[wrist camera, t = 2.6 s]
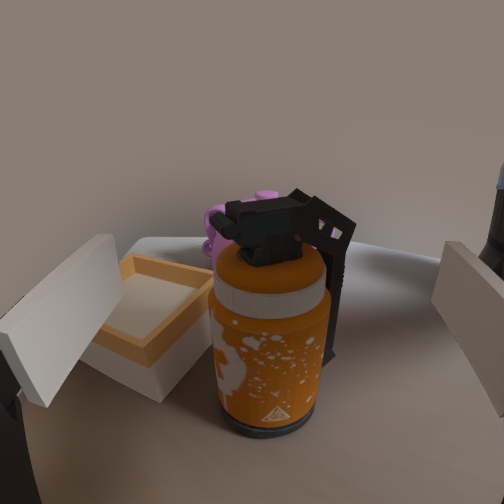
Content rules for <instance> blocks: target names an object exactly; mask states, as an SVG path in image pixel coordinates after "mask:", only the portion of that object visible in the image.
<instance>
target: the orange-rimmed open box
mask: <svg viewBox="0 0 504 504" xmlns="http://www.w3.org/2000/svg"><path fill="white" fill-rule="evenodd" d="M118 264H119V269H120V274H121V279H122V283H123V288H124V293H125V294H124V296H123V297H122V298H121V300H120V301H119V303H118V304H117V305H116V307H115V308H114V309H113V311H112V312H111V314H110V315H109V316H108V318H107V319H106V321H105V322H104V323H103V325H102V326H101V328H100V329H99V330H98V332H97V333H96V335H95V336H94V338H93V339H92V340H91V342H90V343H89V345H88V346H87V348H86V349H85V351H84V352H83V354H82V355H81V356H80V358H79V359H80V360H81V361H83V362H84V363H86V364H88V365H89V366H91V367H93V368H94V369H96V370H98V371H100V372H101V373H103V374H105V375H107V376H108V377H110V378H112V379H114V380H116V381H117V382H119V383H121V384H123V385H125V386H127V387H129V388H130V389H132V390H134V391H136V392H138V393H140V394H142V395H144V396H146V397H148V398H150V399H152V400H154V401H156V402H158V403H161V402H162V401H163V400H164V398H165V397H166V396H167V395H168V394H169V393H170V392H171V390H172V389H173V388H174V387H175V386H176V385H177V384H178V382H179V381H180V380H181V379H182V378H183V377H184V375H185V374H186V373H187V372H188V371H189V370H190V369H191V367H192V366H193V365H194V364H195V363H196V362H197V360H198V359H199V358H200V357H201V356H202V355H203V353H204V352H205V351H206V350H207V349H208V348H209V346H210V345H211V344H212V336H211V328H210V319H209V309H208V294H209V292H210V290H211V289H212V287H213V286H214V278H213V271H212V270H207V269H202V268H197V267H193V266H188V265H184V264H179V263H174V262H170V261H165V260H161V259H156V258H152V257H147V256H143V255H138V254H134V253H132V254H130V255H129V256H127V257H125V258H124V259H122V260H120V261H119V262H118Z"/></svg>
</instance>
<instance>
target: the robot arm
mask: <svg viewBox="0 0 504 504" xmlns="http://www.w3.org/2000/svg"><path fill="white" fill-rule="evenodd" d="M496 189H497V194H496V200H495V206H494V211H493V216H492V221H491V225H490V230H489V235H488V239H487V243H486V245H485V247H484V249H483V250H482V252H481V253H480V255H479V256H478V257H477V256H476V255H475V254H474V253H472V252H471V251H470V250H469V249H468V248H467V247H465V245H463V244H462V243H461V242H454V241H445V245H444V250H443V254H442V259H441V263H440V267H439V271H438V275H437V279H436V283H435V287H434V290H433V294H432V298H431V302H432V304H433V305H434V307H435V308H436V310H437V311H438V313H439V314H440V316H441V317H442V319H443V320H444V322H445V323H446V325H447V326H448V328H449V330H450V331H451V333H452V334H453V336H454V337H455V339H456V341H457V342H458V344H459V346H460V347H461V349H462V350H463V352H464V354H465V355H466V357H467V359H468V361H469V362H470V364H471V366H472V367H473V369H474V371H475V373H476V374H477V376H478V378H479V380H480V381H481V383H482V385H483V387H484V389H485V391H486V392H487V394H488V396H489V398H490V400H491V402H492V404H493V406H494V408H495V410H496V411H497V413H498V415H499V417H500V418H501V417H504V163H503V164H502V166H501V169H500V175H499V181H498V184H497V186H496ZM124 294H125V293H124V288H123V283H122V279H121V274H120V269H119V264H118V259H117V253H116V247H115V242H114V236H113V234H97V235H95V236H94V237H93V238H92V239H90V240H89V241H88V242H87V243H86V244H84V245H83V246H82V247H81V248H79V249H78V250H77V251H76V252H74V253H73V254H72V255H71V256H70V257H68V258H67V259H66V260H65V261H64V262H63V263H61V264H60V265H59V266H58V267H57V268H56V269H54V270H53V271H52V272H51V273H50V274H49V275H47V277H45V278H44V279H43V280H42V281H41V282H40V283H38V284H37V285H36V286H35V287H34V288H33V289H32V290H31V291H30V292H29V293H28V294H26V295H25V296H23V297H22V298H21V299H20V300H19V301H18V302H17V303H16V304H15V306H13V307H12V308H11V309H10V310H9V311H8V312H7V313H6V314H4V315H3V316H2V317H1V318H0V504H42V503H41V500H40V496H39V493H38V489H37V485H36V482H35V478H34V474H33V470H32V465H31V461H30V456H29V451H28V446H27V441H26V436H25V430H24V423H23V417H22V409H21V403H20V400H19V398H18V397H17V393H18V392H19V390H20V389H22V390H23V392H24V394H25V395H26V397H27V399H28V400H29V402H32V403H34V404H37V405H40V406H43V407H46V408H48V406H49V404H50V403H51V401H52V399H53V398H54V396H55V395H56V393H57V392H58V390H59V388H60V387H61V385H62V384H63V382H64V381H65V379H66V378H67V376H68V375H69V373H70V371H71V370H72V368H73V367H74V365H75V364H76V362H77V361H78V359H79V358H80V356H81V355H82V354H83V352H84V351H85V349H86V348H87V346H88V345H89V343H90V342H91V340H92V339H93V338H94V336H95V335H96V333H97V332H98V330H99V329H100V328H101V326H102V325H103V323H104V322H105V321H106V319H107V318H108V316H109V315H110V314H111V312H112V311H113V309H114V308H115V307H116V305H117V304H118V303H119V301H120V300H121V298H122V297H123V296H124ZM501 504H504V497H503V500H502V503H501Z"/></svg>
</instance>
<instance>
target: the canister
mask: <svg viewBox="0 0 504 504" xmlns="http://www.w3.org/2000/svg"><path fill="white" fill-rule="evenodd" d="M319 219H320V220H321V221H323V222H325V224H324V226H323V227H322V229H321V230H320V229H319ZM209 222H210V224H211V226H212V227H213V228H214V229H215V230H217V232H218V233H219V234H220V235H221V236H222V237H223V238H225V239H227V240H233V241H234V243H232V244H230V245H228V246H227V247H226V248H224V249H223V250H222V251H221V252H220V254H219V255H218V257H217V259H216V262H215V264H214V266H213V278H214V286H213V287H212V289H211V290H210V292H209V294H208V309H209V319H210V328H211V336H212V345H213V353H214V361H215V369H216V377H217V385H218V392H219V399H220V406H221V411H222V413H223V416H224V417H225V419H226V420H227V421H228V422H229V424H230V425H231V426H233V427H234V428H235V429H237V430H239V431H240V432H242V433H244V434H247V435H250V436H254V437H259V438H276V437H281V436H285V435H288V434H290V433H292V432H294V431H296V430H298V429H299V428H301V427H302V426H303V425H304V424H305V423H306V422H307V421H308V420H309V418H310V417H311V415H312V413H313V411H314V406H315V401H316V395H317V390H318V384H319V379H320V373H321V368H322V367H323V366H325V365H326V364H327V363H328V362H329V361H330V360H331V359H332V358H333V357H335V356H336V355H335V354H334V352H333V351H332V347H333V341H334V335H335V329H336V322H337V316H338V309H339V302H340V295H341V288H342V286H343V284H342V283H343V278H344V275H343V273H344V271H345V270H344V269H345V265H344V264H345V255H346V251H347V248H348V246H349V243H350V240H351V238H352V235H353V232H354V230H355V227H356V223H354V222H353V221H352V220H350V219H349V218H347V217H346V216H344V215H343V214H341V213H340V212H338V211H337V210H335V209H334V208H332V207H331V206H329V205H328V204H326V203H325V202H323V201H322V200H320V199H319V198H317V197H316V196H313V197H312V198H311V197H309V196H308V195H306V194H305V193H303V192H302V191H300V190H299V189H297V188H296V189H295V190H294V191H293V192H292V193H290V194H289V195H288V196H287V197H279V198H271V199H264V200H256V201H249V202H241V201H239V200H238V201H231V202H227V203H226V204H225V215H224V214H223V213H222V212H216V213H214V214H213V216H209ZM334 227H336V228H337V229H339V230H340V231H342V235H341V236H340V238H339V239H335V238H333V237H331V235H332V232H333V229H334ZM312 246H313V247H312ZM314 247H315V248H316V249H315V248H314Z"/></svg>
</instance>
